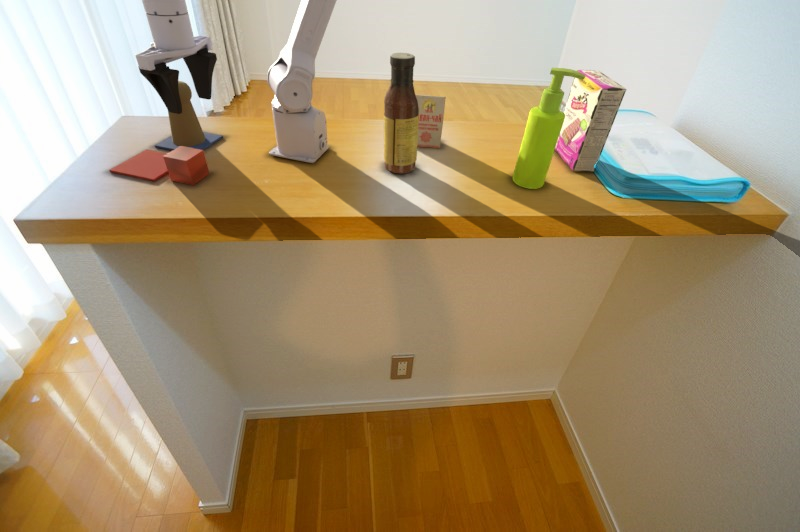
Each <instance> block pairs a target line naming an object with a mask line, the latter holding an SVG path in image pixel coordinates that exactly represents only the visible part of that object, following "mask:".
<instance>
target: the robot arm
mask: <svg viewBox="0 0 800 532" xmlns="http://www.w3.org/2000/svg"><path fill="white" fill-rule="evenodd" d="M141 2H142V5H143V9H144V12H145V15H146V18H147V22H148V26H149V30H150V33H151V36H152V40H153V41H151V42H150V47H148V48H146V49H145V50H143V51H142V52H139V53H136V54H135V55H134V56H135V59H136V62H137V65H138V71H139V74H141V75H142V76H143V77H144V78H145V79H146V80H147V81H148V82H149V83H150V85H151V86H152V87H153V89H154V90H155V91H156V93H157V94H158V96H159V98H160V99H161V101H162V102H163V104H164V105H165V107H166V109H167V112H168V111H169V112H171V113H176V114H181V113H182V104H181V100H180V95H179V88H178V81H179V76H180V71H179V69H174V68H170V66H169V65H168V66H167V64H169V63H173V62H175V61H178V60H181V59H183V61H184V63H185V65H186V67H187V69H188V71H189V73H190V76H191V78H192V82H193V85H194V89H195V92H196V94H197V96H198V98H199V99H202V100H212V92H213V90H212V88H213V74H214V69H215V67H216V64H217V61H218V58H217V53H215V52H210V51H212V50H213V45H212V40H211V37H210V36H204V35H196V36H194V32H193V28H192V24H191V19H190V15H189V10H188V6H187V2H186V0H141ZM336 4H337V0H300V4H299V7H298V9H297V12H296V16H295V18H294V22H293V24H292V28H291V31H290V34H289V37H288V40H287V43H286V44H285V45H284V47H282V49H281V50H280V51H279V55H278V58H277V60H276V61H275V62H274V63H272V65H271V66H270V67H269V69H268V71H267V75H266V79H267V80H266V81H267V83H268V86H269V88H270V90H271V91H272V92H273V93H274V96H273V99H272V101H271V103H270V105H271V111H272V113H271V114H272V119H273V126H274V133H275V140H276V146H275V147H274V148H271V150H269V152H268V155H269V156H271V157H272V156H273V157H277V158H283V159H288V160H293V161H299V162H305V163H309V164H314V163H316V162H317V160H319V158H321V156H322V155H324V154H325V152H326V151H327V150H329V148H330V145H329V143H328V129H327V127H328V125H327V117H326V114H325V112H324V111H323V110H321V109H317V108H316V107H314V106H313V105H312V100H313V95H314V91H313V83H314V79H315V77H316V57H317V55H318V52H319V50H320V46H321V44H322V41H323V38H324V36H325V34H326V31H327V27H328V25H329V23H330V19H331V16H332V14H333V11H334V9H335V6H336Z"/></svg>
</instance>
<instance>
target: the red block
mask: <svg viewBox="0 0 800 532" xmlns="http://www.w3.org/2000/svg"><path fill="white" fill-rule="evenodd" d="M204 150H205V149H204ZM204 150H200V149H195V148H190V147H185V146H180V147H178V148H176V149H174V150H173V151H172V150H170V151H169V152H168V153H167V154H166V155H164V156H163V158H164V161H165V164H166V167H167V170H168V173H167V174H168V175H169V180H170V181H172V182H176V183H180V184H185V185H190V186H195V185H197V184H198V183H199V182H201V181H202V180H204V179H205V178H206V177H207V176H209V175H210V169H209V166H208V162H207V157H206V155H205V151H204Z"/></svg>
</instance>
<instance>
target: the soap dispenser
mask: <svg viewBox="0 0 800 532" xmlns="http://www.w3.org/2000/svg"><path fill="white" fill-rule="evenodd" d="M549 75H552V78H551V81H550V85H549V86H548V87H546V88H544V89H543V91H542V94H541V98H540V102H539V105H538V106H534V107H531V108H530V110H529V113H528V116H527V117H528V118H527V121H526V125H525V129H524V132H523V136H522V140H521V144H520V147H519V151H518V155H517V159H516V163H515V167H514V170H513V174H512V178H511V179H512V182H513V183H514V184H515V185H517V186H519V187H521V188H524V189H530V190H537V189H541V188H543V186H544V184H545V182H546V179H547V175H548V172H549V169H550V166H551V163H552V160H553V157H554V153H555V147H556V144H557V141H558V138H559V135H560V132H561V128H562V125H563V122H564V119H565V114H564V111H563V110H560V109H561V105H562V102H563V99H564V96H565V92H564V91H563V89H561V87H562V85H563V82H564V78H565V77H571V78H578V79H580V80H583V79H585V75H584V74H582V73H580V72H578V71H577V70H574V69H571V68H564V67H551V69H550V71H549Z"/></svg>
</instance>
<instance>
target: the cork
mask: <svg viewBox="0 0 800 532" xmlns="http://www.w3.org/2000/svg"><path fill="white" fill-rule="evenodd" d="M178 88H179V95H180V100H181V104H182V113H181V114H176V113H171V112H169V111H168V110H167V114H168V121H169V126H170V133H171V136H172V141H173V143H174V144H175V145H177V146H185V147H188V146H196V145H199V144H201V143H203V142H204V141H205V139H206V138H205V136H204V133H203V132H204V130H203V128H202V126H201V123H200V121H199V118H198V116H197V114H196V113H197V112H196V110H195V108H194V106H193V103H192V101H191V99H192V96H193V93H192V88H191V87H190V86H189V84H188V83H186V82H185V81H182V80H178Z"/></svg>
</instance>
